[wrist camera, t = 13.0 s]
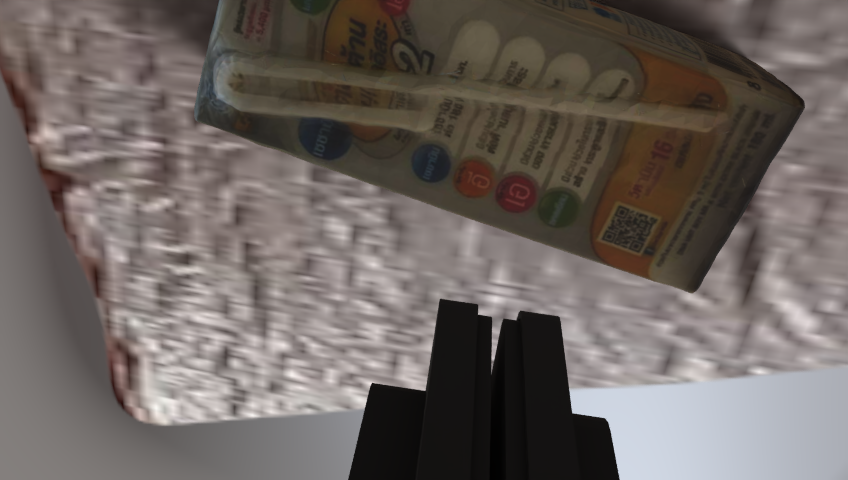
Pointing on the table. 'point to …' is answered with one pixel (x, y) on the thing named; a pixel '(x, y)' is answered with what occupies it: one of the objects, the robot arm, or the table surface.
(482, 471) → the robot arm
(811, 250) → the table surface
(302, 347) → the table surface
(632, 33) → the beverage carton
